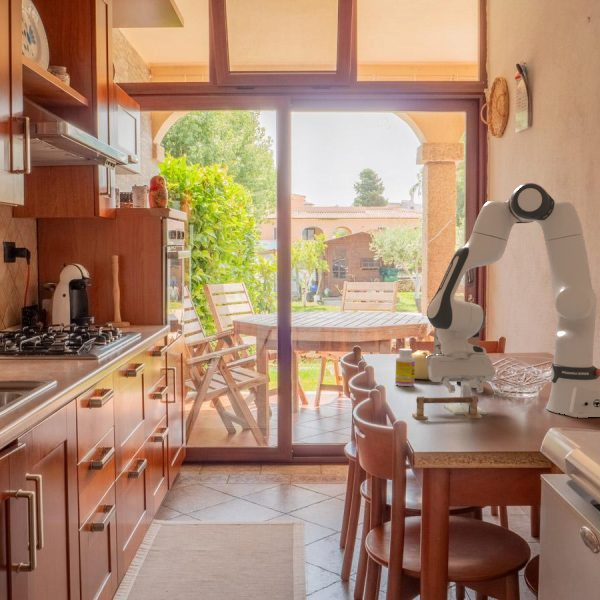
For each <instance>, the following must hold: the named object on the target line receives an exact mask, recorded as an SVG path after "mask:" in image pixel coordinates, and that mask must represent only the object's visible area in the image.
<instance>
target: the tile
mask: <svg viewBox="0 0 600 600" xmlns="http://www.w3.org/2000/svg"><path fill="white" fill-rule="evenodd" d="M443 408H445V410H447V409H448V410H447V411H449V412H450V413H452V414H454V415H457V416H458V415H465V413H467V412H466V411H464V410H463V409H461V408H460V404H443ZM477 413H479V414H480V415H488V411H486V410H485V409H483V408H482V407H481V406H480V407H479V406H478V405H477Z"/></svg>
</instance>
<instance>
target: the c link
mask: <svg viewBox="0 0 600 600" xmlns="http://www.w3.org/2000/svg"><path fill="white" fill-rule="evenodd" d="M477 385H478V380H477V379H476V378H474V377H472V376H470V375H461V386H460V394H459V396H460V397H471V396H472V389H474V388H475V389H476V388H477ZM459 405H460V408H461V409H463V410H464V411H466V412H467V413H470V403H459Z"/></svg>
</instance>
